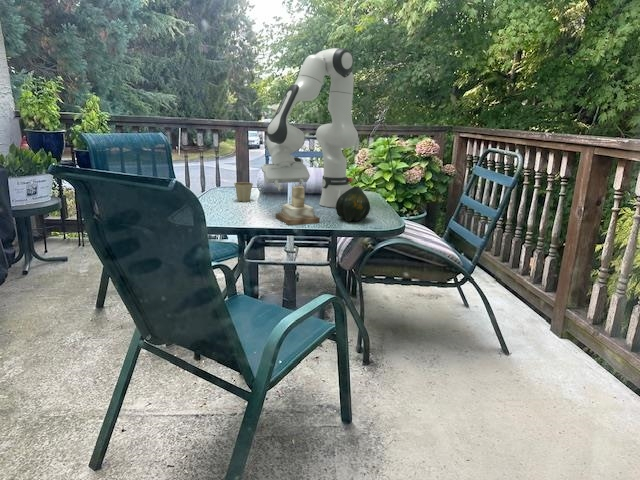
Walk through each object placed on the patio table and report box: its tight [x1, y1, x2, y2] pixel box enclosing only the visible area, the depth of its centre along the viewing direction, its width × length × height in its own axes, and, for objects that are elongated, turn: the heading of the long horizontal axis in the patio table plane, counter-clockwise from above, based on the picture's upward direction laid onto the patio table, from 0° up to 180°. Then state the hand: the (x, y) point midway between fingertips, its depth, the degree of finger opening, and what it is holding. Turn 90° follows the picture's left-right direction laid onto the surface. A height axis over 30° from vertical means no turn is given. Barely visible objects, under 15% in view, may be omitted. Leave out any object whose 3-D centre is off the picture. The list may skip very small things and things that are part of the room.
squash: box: [335, 185, 371, 223], centre depth 191 cm, size 14×15×15 cm
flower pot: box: [233, 181, 254, 203], centre depth 225 cm, size 9×9×9 cm
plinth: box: [275, 203, 321, 226], centre depth 187 cm, size 14×14×6 cm
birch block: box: [291, 185, 306, 207], centre depth 185 cm, size 4×4×8 cm
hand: (291, 189), depth 192 cm, fingers open, 8 cm apart
